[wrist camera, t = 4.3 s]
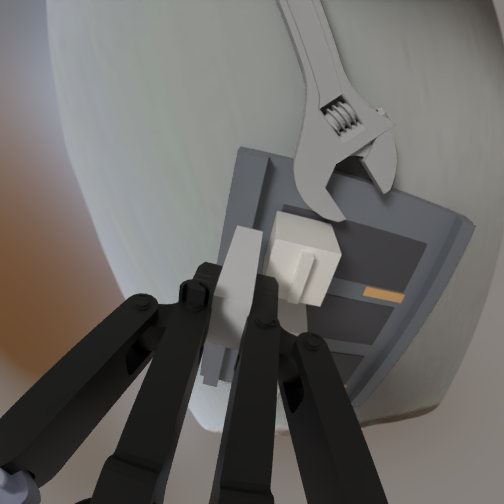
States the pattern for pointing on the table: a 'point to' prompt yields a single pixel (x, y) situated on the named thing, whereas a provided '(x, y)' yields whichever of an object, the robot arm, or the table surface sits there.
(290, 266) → the white notched block
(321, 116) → the adjustable wrench
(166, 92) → the table surface
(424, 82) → the table surface
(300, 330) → the white slider knob
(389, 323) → the switch bank
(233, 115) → the table surface
